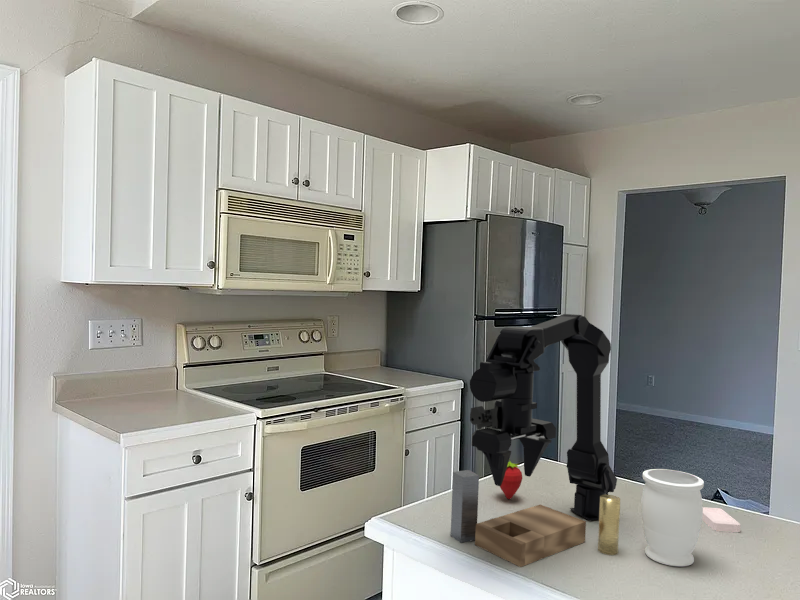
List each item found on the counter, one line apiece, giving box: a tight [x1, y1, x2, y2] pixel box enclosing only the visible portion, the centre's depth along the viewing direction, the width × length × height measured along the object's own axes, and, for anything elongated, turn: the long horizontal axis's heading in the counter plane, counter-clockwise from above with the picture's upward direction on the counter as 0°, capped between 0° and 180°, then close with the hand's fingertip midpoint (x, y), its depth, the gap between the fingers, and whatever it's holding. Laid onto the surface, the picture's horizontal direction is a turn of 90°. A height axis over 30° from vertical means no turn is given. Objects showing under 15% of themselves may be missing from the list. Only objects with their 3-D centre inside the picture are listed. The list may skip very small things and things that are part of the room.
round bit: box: [597, 494, 621, 556], centre depth 115 cm, size 4×4×10 cm
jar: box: [640, 468, 705, 567], centre depth 113 cm, size 11×10×15 cm
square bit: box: [450, 469, 480, 544], centre depth 118 cm, size 4×4×12 cm
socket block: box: [474, 504, 587, 568], centre depth 117 cm, size 19×11×4 cm, turn 129°
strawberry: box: [499, 459, 523, 500], centre depth 141 cm, size 6×8×10 cm
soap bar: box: [702, 506, 741, 533], centre depth 131 cm, size 5×9×2 cm, turn 175°
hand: (513, 480), depth 113 cm, fingers open, 9 cm apart
